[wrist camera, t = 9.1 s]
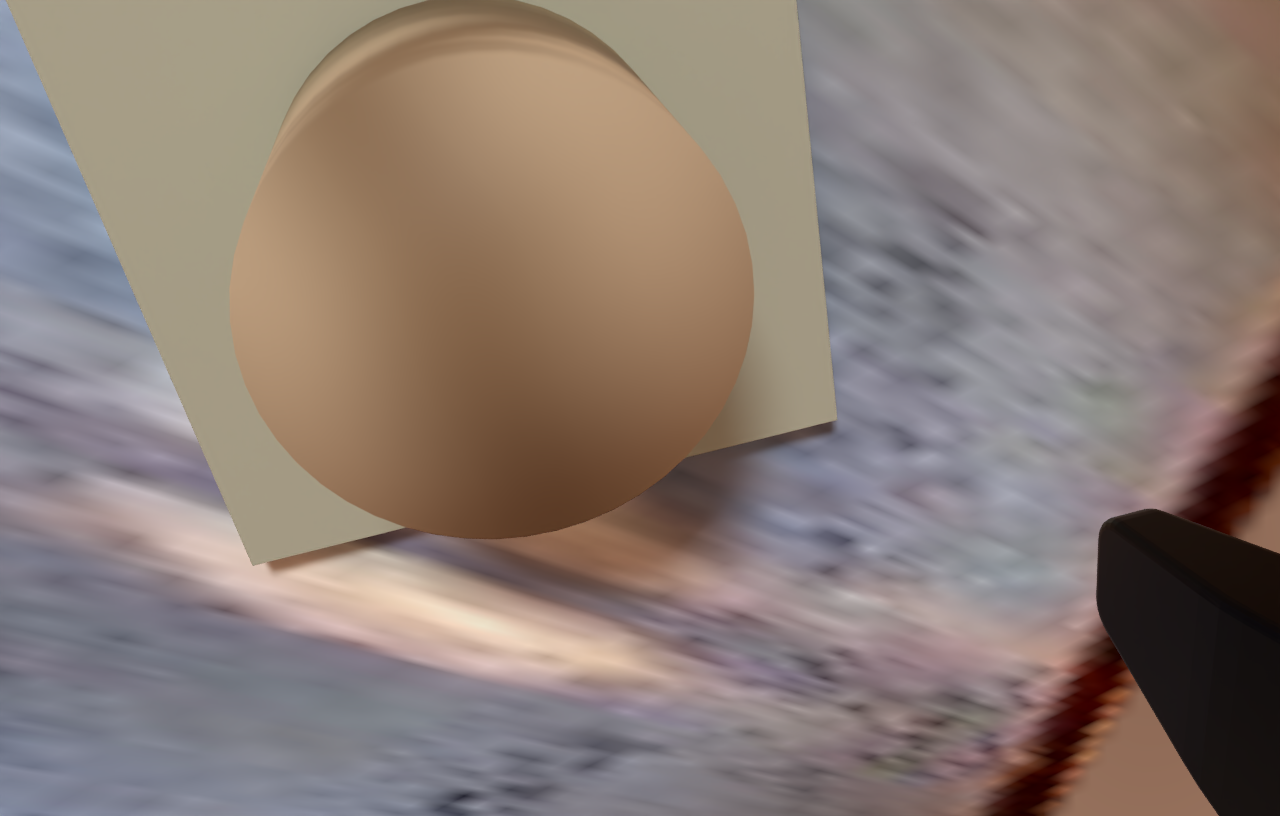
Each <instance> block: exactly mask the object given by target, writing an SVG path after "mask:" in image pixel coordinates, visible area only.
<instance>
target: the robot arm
mask: <svg viewBox="0 0 1280 816" xmlns="http://www.w3.org/2000/svg"><path fill="white" fill-rule="evenodd" d="M1096 600H1097V607H1098V612H1099V615H1100V618H1101V621H1102V623H1103V626H1104V627H1105V629H1106V631H1107V633H1108V635H1109V636H1110V638H1111V640H1112V641H1113V643H1114V645H1115V647H1116V648H1117V650H1118V652H1119V653H1120V655H1121V657H1122V658H1123V660H1124V662H1125V664H1126V665H1127V667H1128V669H1129V670H1130V672H1131V674H1132V676H1133V677H1134V679H1135V681H1136V682H1137V684H1138V686H1139V688H1140V689H1141V691H1142V693H1143V694H1144V696H1145V698H1146V699H1147V701H1148V703H1149V704H1150V706H1151V708H1152V710H1153V711H1154V713H1155V715H1156V717H1157V718H1158V720H1159V722H1160V723H1161V725H1162V727H1163V728H1164V730H1165V732H1166V733H1167V735H1168V737H1169V739H1170V740H1171V742H1172V744H1173V745H1174V747H1175V749H1176V751H1177V752H1178V754H1179V756H1180V757H1181V759H1182V761H1183V763H1184V764H1185V766H1186V767H1187V769H1188V770H1189V772H1190V774H1191V775H1192V777H1193V779H1194V780H1195V782H1196V783H1197V785H1198V786H1199V788H1200V790H1201V791H1202V792H1203V794H1204V795H1205V797H1206V798H1207V799H1208V801H1209V802H1210V804H1211V805H1212V806H1213V808H1214V809H1215V811H1216V812H1217V814H1218V815H1219V816H1280V554H1279V553H1276V552H1273V551H1271V550H1268V549H1265V548H1262V547H1260V546H1257V545H1254V544H1251V543H1249V542H1246V541H1243V540H1241V539H1238V538H1235V537H1232V536H1230V535H1227V534H1224V533H1221V532H1219V531H1216V530H1213V529H1210V528H1208V527H1205V526H1202V525H1199V524H1197V523H1194V522H1191V521H1189V520H1186V519H1183V518H1180V517H1178V516H1175V515H1172V514H1169V513H1167V512H1164V511H1161V510H1157V509H1144V510H1140V511H1136V512H1132V513H1128V514H1125V515H1121V516H1117V517H1113V518H1110V519H1108V520H1107V521H1106V522H1104V523H1103V525H1102V527H1101V529H1100V532H1099V538H1098V564H1097V590H1096Z"/></svg>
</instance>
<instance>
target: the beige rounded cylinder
mask: <svg viewBox="0 0 1280 816" xmlns="http://www.w3.org/2000/svg"><path fill="white" fill-rule="evenodd" d="M229 294H230V325H231V331H232V338H233V344H234V350H235V355H236V358H237V361H238V364H239V367H240V371H241V374H242V377H243V380H244V383H245V386H246V388H247V390H248V392H249V394H250V396H251V398H252V400H253V402H254V404H255V406H256V408H257V410H258V413H259V414H260V416H261V417H262V419H263V420H264V422H265V423H266V425H267V426H268V428H269V429H270V431H271V432H272V434H273V435H274V437H275V438H276V440H277V441H278V442H279V443H280V444H281V445H282V446H283V448H284V449H285V450H286V451H287V452H288V453H289V454H290V456H291V457H292V458H293V459H294V460H295V461H296V462H297V463H298V464H299V465H300V466H301V467H302V468H303V469H304V470H306V471H307V472H308V473H309V474H310V475H311V476H312V477H314V478H315V479H316V480H317V481H318V482H319V483H320V484H322V485H323V486H325V487H326V488H328V489H329V490H331V491H332V492H334V493H335V494H337V495H338V496H339V497H341V498H342V499H344V500H345V501H347V502H349V503H351V504H353V505H355V506H357V507H359V508H360V509H362V510H364V511H366V512H368V513H370V514H372V515H374V516H377V517H379V518H382V519H385V520H387V521H390V522H393V523H395V524H398V525H401V526H403V527H407V528H411V529H415V530H419V531H423V532H427V533H431V534H436V535H444V536H451V537H459V538H472V539H502V538H514V537H526V536H531V535H536V534H542V533H547V532H552V531H557V530H560V529H563V528H567V527H570V526H573V525H576V524H579V523H583V522H586V521H588V520H591V519H593V518H595V517H597V516H600V515H602V514H604V513H607V512H609V511H611V510H614V509H615V508H617V507H619V506H621V505H622V504H624V503H626V502H628V501H629V500H631V499H633V498H635V497H636V496H638V495H640V494H641V493H643V492H644V491H645V490H647V489H648V488H650V487H651V486H652V485H654V484H655V483H656V482H658V481H659V480H661V479H662V478H663V477H665V476H666V475H667V474H668V473H669V472H670V471H671V470H672V469H673V468H674V467H675V466H677V465H678V464H679V463H680V462H681V461H682V460H683V459H684V458H685V457H686V456H687V455H688V454H689V453H690V452H691V451H692V449H693V448H694V447H695V446H696V445H697V444H698V442H699V441H700V440H701V439H702V438H703V437H704V435H705V434H706V433H707V431H708V430H709V428H710V427H711V425H712V424H713V422H714V421H715V419H716V418H717V416H718V415H719V413H720V412H721V410H722V409H723V407H724V405H725V403H726V401H727V399H728V397H729V395H730V393H731V391H732V389H733V387H734V385H735V383H736V381H737V378H738V375H739V372H740V369H741V367H742V364H743V361H744V358H745V355H746V351H747V346H748V342H749V337H750V332H751V328H752V319H753V306H754V281H753V265H752V260H751V255H750V250H749V245H748V240H747V235H746V232H745V229H744V226H743V223H742V220H741V218H740V215H739V212H738V209H737V206H736V204H735V202H734V200H733V198H732V196H731V194H730V192H729V190H728V188H727V186H726V185H725V183H724V181H723V179H722V177H721V175H720V174H719V172H718V171H717V170H716V168H715V167H714V165H713V164H712V163H711V161H710V160H709V158H708V157H707V156H706V154H705V153H704V152H703V150H702V149H701V148H700V146H699V145H698V144H697V143H696V142H695V141H694V139H693V138H692V137H691V136H690V135H689V134H688V133H687V131H686V130H685V129H684V128H683V127H682V126H681V125H680V123H679V122H678V121H677V120H676V119H675V118H674V117H673V115H672V114H671V113H670V112H669V111H668V110H667V108H666V107H665V106H664V105H663V104H662V103H661V102H660V100H659V99H658V98H657V97H656V96H655V95H654V94H653V92H652V91H651V90H650V89H649V88H648V87H647V86H646V84H645V83H644V82H643V81H642V80H641V79H640V77H639V76H638V75H637V74H636V73H635V72H634V71H633V69H632V68H631V67H630V66H629V65H628V64H627V63H626V62H625V61H624V60H623V59H622V58H621V57H620V56H619V55H618V54H617V53H616V52H615V51H614V50H613V49H612V48H611V47H609V46H608V45H607V44H606V43H604V42H603V41H602V40H601V39H599V38H598V37H597V36H596V35H594V34H593V33H592V32H590V31H588V30H587V29H585V28H583V27H582V26H580V25H578V24H577V23H575V22H573V21H572V20H570V19H568V18H566V17H563V16H561V15H559V14H556V13H554V12H552V11H549V10H547V9H545V8H542V7H539V6H535V5H532V4H528V3H524V2H521V1H517V0H427V1H424V2H420V3H417V4H413V5H410V6H406V7H403V8H399V9H397V10H395V11H393V12H391V13H388V14H386V15H384V16H382V17H379V18H377V19H375V20H373V21H371V22H370V23H368V24H367V25H365V26H363V27H362V28H360V29H359V30H357V31H355V32H354V33H352V34H351V35H349V36H348V37H347V38H346V39H344V40H343V41H342V42H341V43H340V44H339V45H337V46H336V47H335V48H334V49H333V50H331V51H330V52H329V53H328V54H327V55H326V56H325V57H324V58H323V60H322V61H321V62H320V63H319V64H318V65H317V66H316V68H315V69H314V70H313V71H312V72H311V73H310V74H309V76H308V77H307V79H306V80H305V82H304V83H303V85H302V86H301V88H300V89H299V91H298V92H297V94H296V96H295V97H294V99H293V101H292V103H291V105H290V107H289V110H288V112H287V114H286V116H285V118H284V120H283V123H282V125H281V128H280V130H279V133H278V135H277V138H276V140H275V143H274V145H273V148H272V151H271V153H270V156H269V158H268V161H267V163H266V166H265V169H264V171H263V174H262V176H261V179H260V181H259V184H258V187H257V189H256V192H255V194H254V197H253V199H252V202H251V205H250V207H249V210H248V212H247V215H246V217H245V220H244V223H243V226H242V229H241V233H240V236H239V240H238V243H237V246H236V250H235V253H234V259H233V266H232V273H231V280H230V288H229Z"/></svg>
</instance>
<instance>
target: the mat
mask: <svg viewBox="0 0 1280 816" xmlns="http://www.w3.org/2000/svg"><path fill="white" fill-rule="evenodd" d="M6 1H7V4H8V6H9V8H10V11H11V13H12V15H13V17H14V20H15V22H16V24H17V27H18V29H19V31H20V33H21V36H22V38H23V40H24V43H25V45H26V47H27V50H28V52H29V54H30V56H31V59H32V61H33V63H34V66H35V68H36V70H37V72H38V75H39V77H40V79H41V82H42V84H43V86H44V89H45V91H46V93H47V95H48V98H49V100H50V102H51V105H52V107H53V109H54V111H55V114H56V116H57V118H58V121H59V123H60V125H61V127H62V130H63V132H64V134H65V137H66V139H67V141H68V144H69V146H70V148H71V150H72V153H73V155H74V157H75V160H76V162H77V164H78V166H79V169H80V171H81V173H82V176H83V178H84V180H85V182H86V185H87V187H88V189H89V192H90V194H91V196H92V199H93V201H94V203H95V205H96V208H97V210H98V212H99V215H100V217H101V219H102V221H103V224H104V226H105V228H106V231H107V233H108V235H109V238H110V240H111V242H112V244H113V247H114V249H115V251H116V254H117V256H118V258H119V260H120V263H121V265H122V267H123V270H124V272H125V274H126V276H127V279H128V281H129V283H130V286H131V288H132V290H133V293H134V295H135V297H136V299H137V302H138V304H139V306H140V309H141V311H142V313H143V315H144V318H145V320H146V322H147V325H148V327H149V329H150V332H151V334H152V336H153V338H154V341H155V343H156V345H157V348H158V350H159V352H160V354H161V357H162V359H163V361H164V364H165V366H166V368H167V370H168V373H169V375H170V377H171V380H172V382H173V384H174V387H175V389H176V391H177V393H178V396H179V398H180V400H181V403H182V405H183V407H184V409H185V412H186V414H187V416H188V419H189V421H190V423H191V425H192V428H193V430H194V432H195V435H196V437H197V439H198V442H199V444H200V446H201V448H202V451H203V453H204V455H205V458H206V460H207V462H208V464H209V467H210V469H211V471H212V474H213V476H214V478H215V481H216V483H217V485H218V487H219V490H220V492H221V494H222V497H223V499H224V501H225V503H226V506H227V508H228V510H229V513H230V515H231V517H232V519H233V522H234V524H235V526H236V529H237V531H238V533H239V536H240V538H241V540H242V542H243V545H244V547H245V549H246V552H247V554H248V556H249V558H250V561H251V563H252V565H253V566H254V565H258V564H262V563H266V562H270V561H274V560H278V559H282V558H286V557H290V556H294V555H298V554H302V553H306V552H310V551H314V550H318V549H322V548H326V547H330V546H334V545H338V544H342V543H346V542H350V541H354V540H358V539H362V538H366V537H370V536H374V535H378V534H382V533H386V532H390V531H394V530H398V529H402V528H406V527H403V526H401V525H398V524H395V523H393V522H390V521H387V520H385V519H382V518H379V517H377V516H374V515H372V514H370V513H368V512H366V511H364V510H362V509H360V508H359V507H357V506H355V505H353V504H351V503H349V502H347V501H345V500H344V499H342V498H341V497H339V496H338V495H337V494H335V493H334V492H332V491H331V490H329V489H328V488H326V487H325V486H323V485H322V484H320V483H319V482H318V481H317V480H316V479H315V478H314V477H312V476H311V475H310V474H309V473H308V472H307V471H306V470H304V469H303V468H302V467H301V466H300V465H299V464H298V463H297V462H296V461H295V460H294V459H293V458H292V457H291V456H290V454H289V453H288V452H287V451H286V450H285V449H284V448H283V446H282V445H281V444H280V443H279V442H278V441H277V440H276V438H275V437H274V435H273V434H272V432H271V431H270V429H269V428H268V426H267V425H266V423H265V422H264V420H263V419H262V417H261V416H260V414H259V413H258V410H257V408H256V406H255V404H254V402H253V400H252V398H251V396H250V394H249V392H248V390H247V388H246V386H245V383H244V380H243V377H242V374H241V371H240V367H239V364H238V361H237V358H236V355H235V350H234V344H233V338H232V331H231V325H230V294H229V288H230V280H231V273H232V266H233V259H234V253H235V250H236V246H237V243H238V240H239V236H240V233H241V229H242V226H243V223H244V220H245V217H246V215H247V212H248V210H249V207H250V205H251V202H252V199H253V197H254V194H255V192H256V189H257V187H258V184H259V181H260V179H261V176H262V174H263V171H264V169H265V166H266V163H267V161H268V158H269V156H270V153H271V151H272V148H273V145H274V143H275V140H276V138H277V135H278V133H279V130H280V128H281V125H282V123H283V120H284V118H285V116H286V114H287V112H288V110H289V107H290V105H291V103H292V101H293V99H294V97H295V96H296V94H297V92H298V91H299V89H300V88H301V86H302V85H303V83H304V82H305V80H306V79H307V77H308V76H309V74H310V73H311V72H312V71H313V70H314V69H315V68H316V66H317V65H318V64H319V63H320V62H321V61H322V60H323V58H324V57H325V56H326V55H327V54H328V53H329V52H330V51H331V50H333V49H334V48H335V47H336V46H337V45H339V44H340V43H341V42H342V41H343V40H344V39H346V38H347V37H348V36H349V35H351V34H352V33H354V32H355V31H357V30H359V29H360V28H362V27H363V26H365V25H367V24H368V23H370V22H371V21H373V20H375V19H377V18H379V17H382V16H384V15H386V14H388V13H391V12H393V11H395V10H397V9H399V8H403V7H406V6H410V5H413V4H417V3H420V2H424V1H427V0H6ZM517 1H521V2H524V3H528V4H532V5H535V6H539V7H542V8H545V9H547V10H549V11H552V12H554V13H556V14H559V15H561V16H563V17H566V18H568V19H570V20H572V21H573V22H575V23H577V24H578V25H580V26H582V27H583V28H585V29H587V30H588V31H590V32H592V33H593V34H594V35H596V36H597V37H598V38H599V39H601V40H602V41H603V42H604V43H606V44H607V45H608V46H609V47H611V48H612V49H613V50H614V51H615V52H616V53H617V54H618V55H619V56H620V57H621V58H622V59H623V60H624V61H625V62H626V63H627V64H628V65H629V66H630V67H631V68H632V69H633V71H634V72H635V73H636V74H637V75H638V76H639V77H640V79H641V80H642V81H643V82H644V83H645V84H646V86H647V87H648V88H649V89H650V90H651V91H652V92H653V94H654V95H655V96H656V97H657V98H658V99H659V100H660V102H661V103H662V104H663V105H664V106H665V107H666V108H667V110H668V111H669V112H670V113H671V114H672V115H673V117H674V118H675V119H676V120H677V121H678V122H679V123H680V125H681V126H682V127H683V128H684V129H685V130H686V131H687V133H688V134H689V135H690V136H691V137H692V138H693V139H694V141H695V142H696V143H697V144H698V145H699V146H700V148H701V149H702V150H703V152H704V153H705V154H706V156H707V157H708V158H709V160H710V161H711V163H712V164H713V165H714V167H715V168H716V170H717V171H718V172H719V174H720V175H721V177H722V179H723V181H724V183H725V185H726V186H727V188H728V190H729V192H730V194H731V196H732V198H733V200H734V202H735V204H736V206H737V209H738V212H739V215H740V218H741V220H742V223H743V226H744V229H745V232H746V235H747V240H748V245H749V250H750V255H751V260H752V265H753V281H754V306H753V319H752V328H751V332H750V337H749V342H748V346H747V351H746V355H745V358H744V361H743V364H742V367H741V369H740V372H739V375H738V378H737V381H736V383H735V385H734V387H733V389H732V391H731V393H730V395H729V397H728V399H727V401H726V403H725V405H724V407H723V409H722V410H721V412H720V413H719V415H718V416H717V418H716V419H715V421H714V422H713V424H712V425H711V427H710V428H709V430H708V431H707V433H706V434H705V435H704V437H703V438H702V439H701V440H700V441H699V442H698V444H697V445H696V446H695V447H694V448H693V449H692V451H691V452H690V453H689V454H688V455H687V456H686V457H690V456H694V455H698V454H702V453H706V452H710V451H714V450H718V449H722V448H726V447H730V446H735V445H739V444H743V443H747V442H751V441H755V440H759V439H763V438H767V437H771V436H775V435H779V434H783V433H787V432H791V431H795V430H799V429H803V428H807V427H811V426H815V425H819V424H823V423H827V422H831V421H835V420H837V412H836V402H835V392H834V382H833V371H832V361H831V351H830V341H829V331H828V320H827V310H826V300H825V290H824V280H823V269H822V259H821V249H820V239H819V228H818V218H817V208H816V198H815V188H814V177H813V167H812V157H811V147H810V137H809V126H808V116H807V106H806V96H805V85H804V75H803V65H802V55H801V45H800V34H799V24H798V14H797V4H796V0H517ZM686 457H685V458H686Z"/></svg>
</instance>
